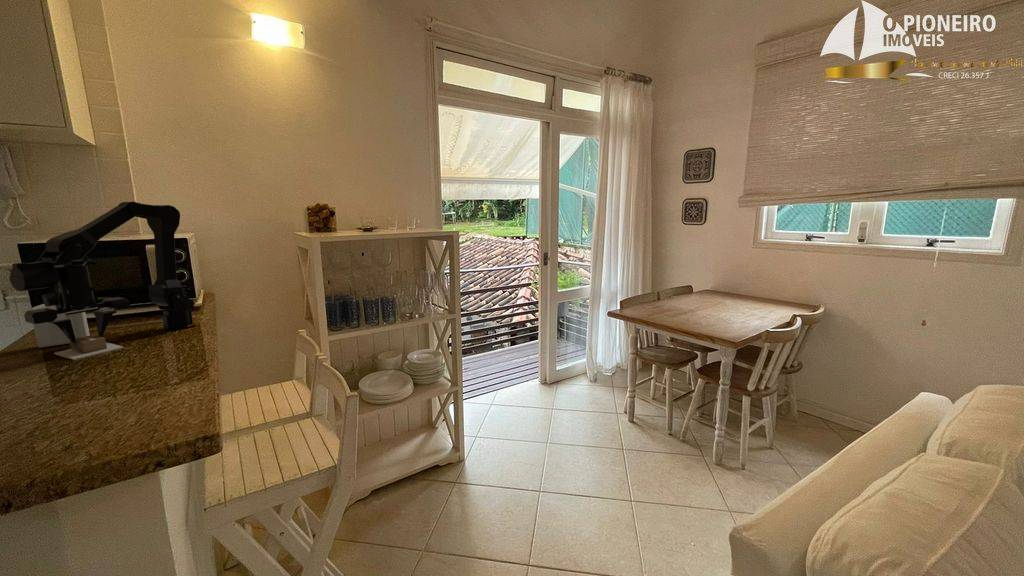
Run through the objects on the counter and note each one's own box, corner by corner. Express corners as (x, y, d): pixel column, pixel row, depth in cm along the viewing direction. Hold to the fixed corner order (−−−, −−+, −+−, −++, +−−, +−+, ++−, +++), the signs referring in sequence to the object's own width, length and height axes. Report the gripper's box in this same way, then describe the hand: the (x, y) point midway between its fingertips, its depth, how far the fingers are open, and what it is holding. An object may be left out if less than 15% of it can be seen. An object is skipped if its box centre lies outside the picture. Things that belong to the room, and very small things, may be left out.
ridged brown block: (107, 348, 109) (105, 337, 109) (84, 353, 105) (82, 342, 104) (94, 345, 112) (92, 334, 111) (71, 349, 108) (69, 338, 107)
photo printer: (91, 337, 120) (82, 298, 117) (90, 341, 117) (81, 300, 114) (39, 345, 113) (29, 303, 110) (37, 349, 110) (26, 306, 107)
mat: (103, 342, 115) (103, 341, 115) (123, 348, 111) (123, 346, 111) (54, 354, 106) (54, 352, 106) (74, 360, 102) (73, 358, 102)
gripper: (106, 276, 116) (116, 327, 119) (8, 288, 100) (23, 346, 103) (126, 279, 112) (136, 331, 115) (27, 291, 95) (42, 352, 98)
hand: (87, 339), depth 108 cm, fingers open, 5 cm apart
